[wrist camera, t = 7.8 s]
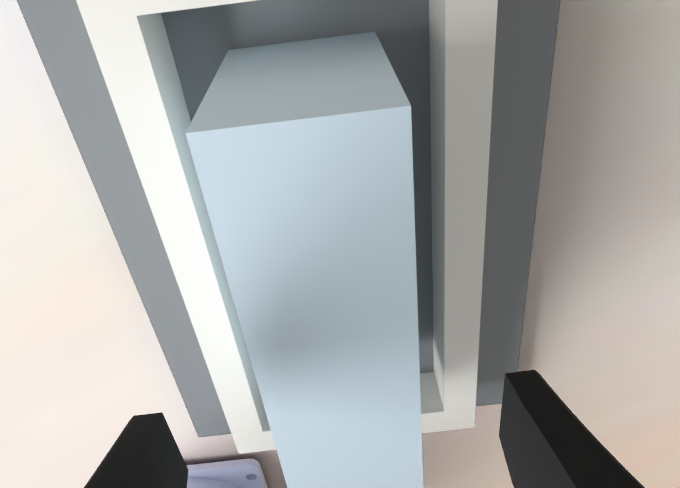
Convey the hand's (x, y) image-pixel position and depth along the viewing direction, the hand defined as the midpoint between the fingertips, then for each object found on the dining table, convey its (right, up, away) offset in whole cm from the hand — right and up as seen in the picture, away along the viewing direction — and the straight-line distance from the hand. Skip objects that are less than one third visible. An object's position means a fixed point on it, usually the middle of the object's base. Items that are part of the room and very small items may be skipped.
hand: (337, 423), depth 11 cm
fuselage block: (0, +4, +6) cm, 8 cm away
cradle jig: (0, +5, +7) cm, 9 cm away
